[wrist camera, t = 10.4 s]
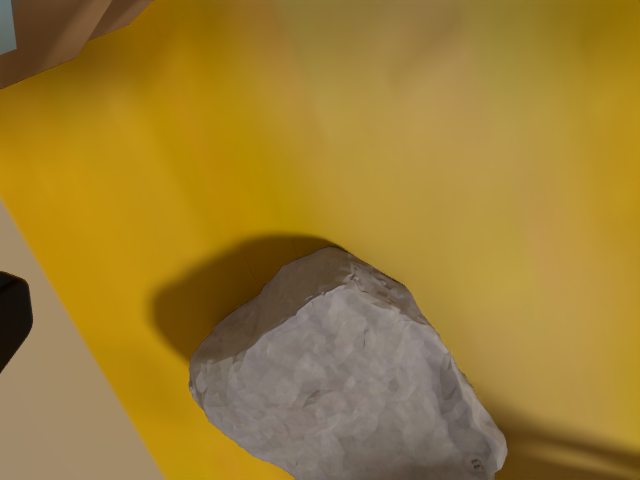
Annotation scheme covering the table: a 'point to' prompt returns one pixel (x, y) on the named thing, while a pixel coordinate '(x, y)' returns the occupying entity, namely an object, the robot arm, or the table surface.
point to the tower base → (118, 15)
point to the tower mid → (48, 35)
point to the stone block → (343, 380)
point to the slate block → (6, 27)
